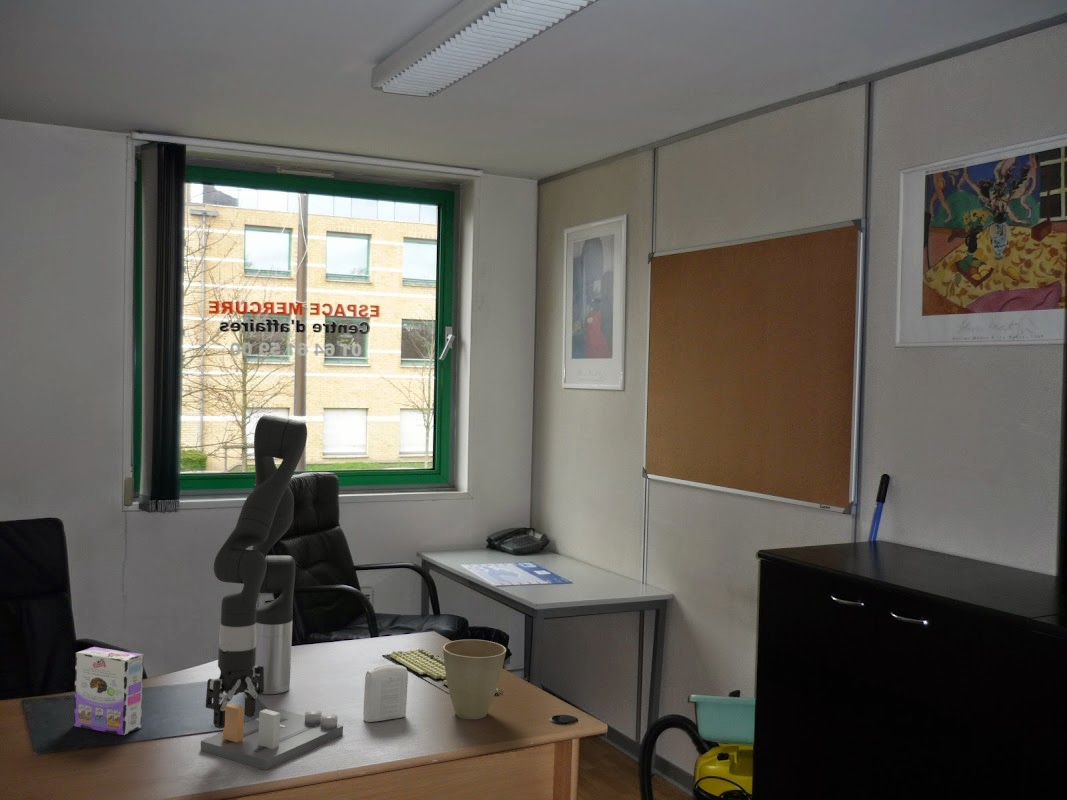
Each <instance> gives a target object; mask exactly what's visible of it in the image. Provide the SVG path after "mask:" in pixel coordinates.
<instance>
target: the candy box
mask: <svg viewBox="0 0 1067 800" xmlns="http://www.w3.org/2000/svg"><path fill="white" fill-rule="evenodd" d="M74 658H75V661H74V663H75V665H74V666H75V667H74V668H75V671H74V674H75V675H74V711H73V712H74V713H73V719H74V720H73V726H74V727H76V728H83V729H88V730H94V731H99V732H105V733H110V734H115V735H120V736H121V735H122V736H125V735H128V734H130V733H131V732H134V731H137V730H139V729H140V728H142V714H143V713H142V712H143V711H142V710H143V709H142V708H143V707H142V706H143V682H144V681H143V678H144V653H136V652H130V651H121V650H116V649H111V648H110V649H109V648H105V647H98V646H93V647H89V648H86V649H83V650H80V651H77V652H75V657H74Z"/></svg>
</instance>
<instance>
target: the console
mask: <svg viewBox="0 0 1067 800" xmlns="http://www.w3.org/2000/svg"><path fill="white" fill-rule="evenodd" d="M258 715H259V716H258V717H257V718H255V719H252V720H250V721H248V722H244V730H243V740H242V741H240V742H237V743H236V742H233V741H229V740H226V739H223V731H222V732H220V733H217V734H215V735H213V736H210V737H208V738H207V737H206V738H205V739H203V740H200V751H202V752H205V753H208V754H211V755H215V756H218V757H222V758H225V759H227V760H231V761H235V762H238V763H241V764H245V765H248V766H251V767H254V768H258V769H261V770H264V771H267V770H269V769H272V768H273V767H276V766H278V765H281V764H283V763H285V762H287V761H289V760H291V759H294V758H296V757H297V756H298V757H299V756H300V755H302V754H304V753H306V752H309V751H311V750H312V749H315V748H317V747H319V746H321V745H323V744H326V743H329V742H331V741H333V740H335V739H336V738H340V737H341V736H343V735H344V725H342V724H338V715H336V714H334V713H327V714H322V711H321V710H318V709H310V710H306V711H305V712H304V715H303V714H299V713H296V712H292V711H288V710H284V709H278V710H275V711H274V710H271V709H267V708H265V709H262V710H260V711H259V712H258Z"/></svg>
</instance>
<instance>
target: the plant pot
mask: <svg viewBox="0 0 1067 800" xmlns="http://www.w3.org/2000/svg"><path fill="white" fill-rule="evenodd" d="M442 651H443V652H442V653H443V660H444V664H445V672H446V679H447V684H448V687H447V688H448V693H450V695H449V697H450V700H451V704H452V707H453V711H454V713H455V715H456V716H457V717H458V718H461V719H465V720H479V719H480V720H481V719H483V718H485V717H486V716H487V714H488V712H489V711H490V710H489V709H490V708H491V706H492V702H493V700H494V697H495V696H496V695H495V692H496V689H498V686H499V683H500V679H501V677H502V673H503V668H504V662H505V658H506V653H507V648H506V647H505V646H504V645H502V644H500V643H498V642H493V641H491V640H490V641H489V640H484V639H459V640H457V639H456V640H453V641H449V642H447V643H445V644H444V645H443V646H442Z"/></svg>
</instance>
